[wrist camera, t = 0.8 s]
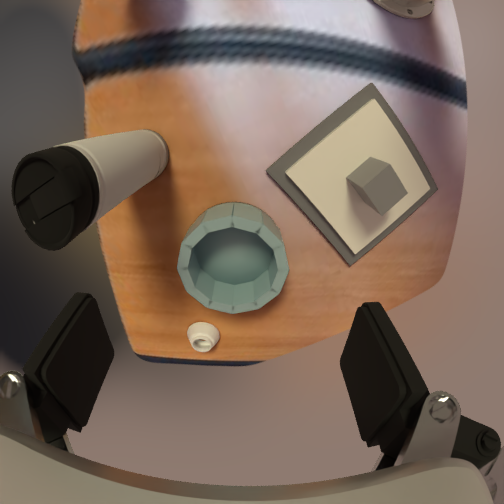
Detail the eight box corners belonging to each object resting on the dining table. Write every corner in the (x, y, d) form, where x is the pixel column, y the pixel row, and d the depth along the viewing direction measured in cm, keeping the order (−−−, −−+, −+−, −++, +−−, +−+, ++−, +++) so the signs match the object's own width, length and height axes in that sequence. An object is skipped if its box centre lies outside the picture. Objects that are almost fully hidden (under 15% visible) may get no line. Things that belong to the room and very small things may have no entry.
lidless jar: (224, 326, 41) (192, 316, 40) (222, 339, 39) (189, 329, 38) (213, 346, 43) (184, 337, 42) (212, 359, 41) (181, 350, 40)
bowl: (234, 181, 31) (232, 193, 26) (300, 248, 35) (309, 270, 30) (169, 246, 35) (157, 267, 30) (234, 301, 39) (233, 327, 34)
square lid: (371, 99, 26) (395, 96, 21) (427, 187, 31) (452, 200, 26) (285, 171, 30) (292, 182, 25) (353, 251, 35) (369, 274, 30)
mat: (370, 83, 26) (372, 82, 25) (435, 187, 32) (438, 189, 31) (265, 170, 31) (266, 171, 30) (348, 263, 37) (350, 265, 36)
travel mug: (179, 168, 30) (94, 237, 13) (132, 187, 31) (28, 267, 13) (162, 119, 28) (52, 129, 10) (114, 142, 29) (-9, 182, 11)
